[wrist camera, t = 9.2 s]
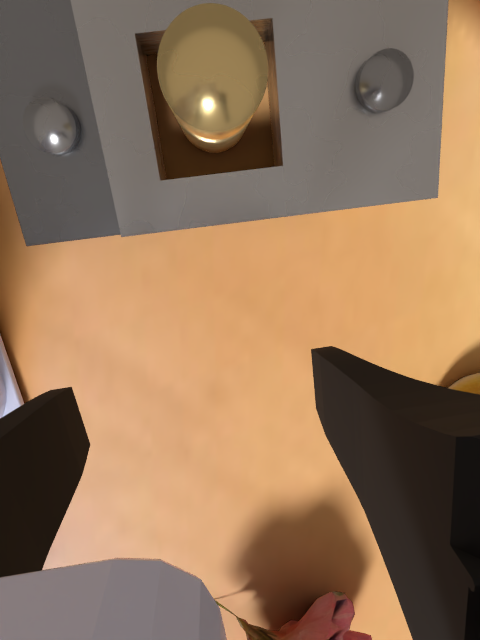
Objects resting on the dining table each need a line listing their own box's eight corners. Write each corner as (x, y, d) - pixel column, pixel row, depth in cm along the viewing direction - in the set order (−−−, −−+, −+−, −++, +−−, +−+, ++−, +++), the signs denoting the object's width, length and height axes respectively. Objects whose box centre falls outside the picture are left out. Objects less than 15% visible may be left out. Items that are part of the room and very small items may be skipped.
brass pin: (186, 157, 17) (169, 139, 11) (173, 82, 16) (145, 11, 10) (251, 147, 18) (274, 123, 11) (242, 71, 17) (260, -6, 10)
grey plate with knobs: (38, 242, 18) (5, 252, 15) (-27, 15, 15) (-83, -24, 12) (410, 196, 19) (445, 198, 16) (417, -35, 16) (462, -84, 13)
